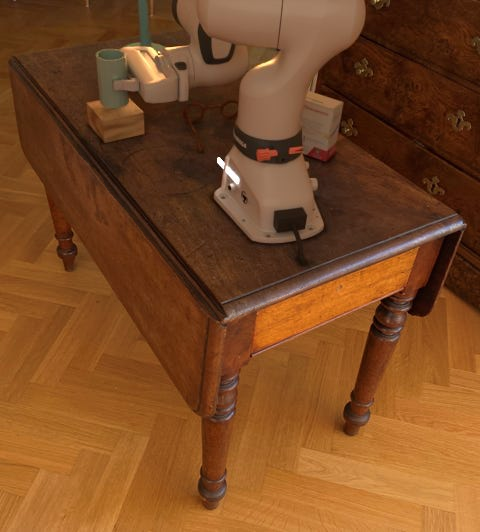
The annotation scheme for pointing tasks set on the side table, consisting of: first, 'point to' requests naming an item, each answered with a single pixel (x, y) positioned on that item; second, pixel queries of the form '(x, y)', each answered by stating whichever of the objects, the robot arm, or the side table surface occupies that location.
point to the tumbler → (111, 77)
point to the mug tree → (144, 28)
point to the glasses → (203, 114)
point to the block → (115, 121)
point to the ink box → (320, 125)
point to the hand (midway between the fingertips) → (108, 77)
